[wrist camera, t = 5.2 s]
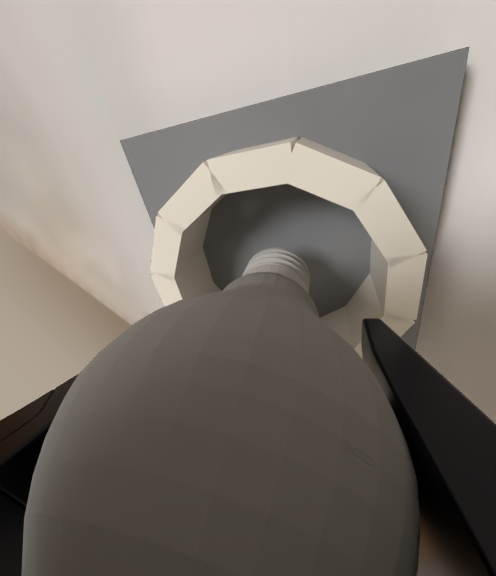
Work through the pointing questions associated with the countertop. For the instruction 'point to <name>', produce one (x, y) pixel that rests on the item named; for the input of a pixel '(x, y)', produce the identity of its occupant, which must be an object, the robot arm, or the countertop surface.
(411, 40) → the countertop surface
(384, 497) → the light bulb
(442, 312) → the countertop surface
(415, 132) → the socket
